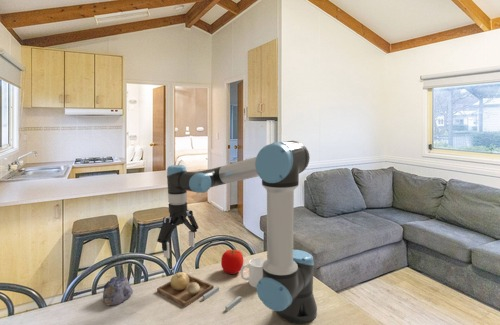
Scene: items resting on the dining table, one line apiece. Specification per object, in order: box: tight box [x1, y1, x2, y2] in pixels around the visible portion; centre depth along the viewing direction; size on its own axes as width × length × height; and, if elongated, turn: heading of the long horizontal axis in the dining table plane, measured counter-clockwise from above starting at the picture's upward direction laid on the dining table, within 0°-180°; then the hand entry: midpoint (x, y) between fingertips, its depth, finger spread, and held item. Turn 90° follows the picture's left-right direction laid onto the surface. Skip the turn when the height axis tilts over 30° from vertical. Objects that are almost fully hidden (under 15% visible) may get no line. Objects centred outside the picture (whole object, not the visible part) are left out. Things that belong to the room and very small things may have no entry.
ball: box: [187, 282, 200, 295], centre depth 123 cm, size 5×5×5 cm
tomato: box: [220, 249, 244, 275], centre depth 142 cm, size 10×11×11 cm
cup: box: [240, 257, 267, 288], centre depth 131 cm, size 8×12×10 cm
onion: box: [169, 271, 189, 290], centre depth 128 cm, size 8×8×7 cm
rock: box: [102, 276, 134, 306], centre depth 120 cm, size 11×10×10 cm
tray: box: [156, 273, 215, 308], centre depth 126 cm, size 18×16×2 cm
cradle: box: [202, 286, 242, 312], centre depth 119 cm, size 13×8×2 cm, turn 54°
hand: (179, 251), depth 126 cm, fingers open, 13 cm apart
